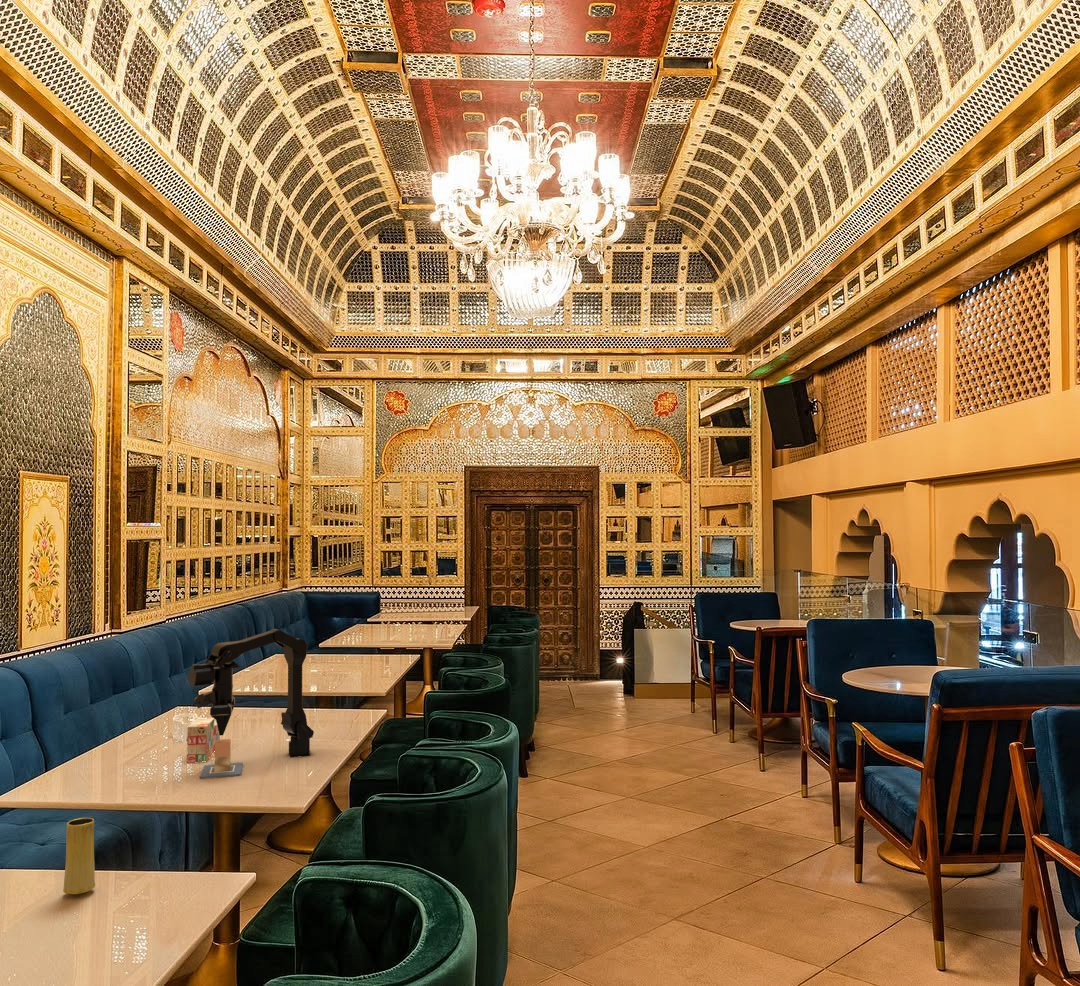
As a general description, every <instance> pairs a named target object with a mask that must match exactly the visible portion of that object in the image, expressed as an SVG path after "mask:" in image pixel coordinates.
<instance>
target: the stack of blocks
mask: <svg viewBox="0 0 1080 986" xmlns="http://www.w3.org/2000/svg"><path fill="white" fill-rule="evenodd" d="M187 735H188V736H187V738H186V741H187V743H186V746H187V749H186V750H187V754H186V763H187V764H196V763H195V762H202V761H207V760H208V759H209V757H210V756H211V755H212V753H213V752H214V751H215V741H216V740H221V738H220V737H221V736H220V735H219V731H218V726H217V722H216V720H215V719H214V718H213V717H209V718H205V719H195V720H194V722H193V723H191V724H190V725H189V726H188V732H187ZM214 753H215V752H214ZM212 756H213V755H212ZM209 760H210V759H209ZM209 760H208V761H209ZM208 761H207V762H208Z"/></svg>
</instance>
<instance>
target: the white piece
mask: <svg viewBox="0 0 1080 986" xmlns="http://www.w3.org/2000/svg"><path fill="white" fill-rule="evenodd" d="M185 718H191V719H189V722H184V721H185ZM195 719H206V718H205V717H201V716H200V717H199V716H198V714H197V713H179V714H176V715H174V716H173V717H172V730H171V731H172V732H171V733H172V737H173V738H172V740H176V741H178V740H179V741H178V742H181V744H184V743H185V744H187V736H188V735H187V732H188V726H189V725H190V724H191V723H193V722H194V720H195Z"/></svg>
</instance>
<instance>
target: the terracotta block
mask: <svg viewBox="0 0 1080 986" xmlns="http://www.w3.org/2000/svg"><path fill="white" fill-rule="evenodd" d="M231 741H232V740H231V738H227V739H226V738H224V739H220V740H216V741H215V752H214V754H213V755H214V758H215V757H229V756H230V753H231V750H232V749H231V748H232V747H231V743H232V742H231Z"/></svg>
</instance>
